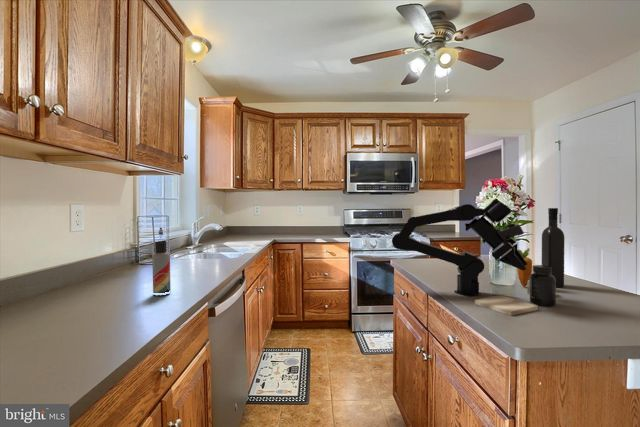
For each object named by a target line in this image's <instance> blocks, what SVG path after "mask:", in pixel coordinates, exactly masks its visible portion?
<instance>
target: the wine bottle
mask: <svg viewBox="0 0 640 427" xmlns="http://www.w3.org/2000/svg"><path fill="white" fill-rule="evenodd" d="M547 210H548V211H547V213H548V226H547V227H546V228H545V229H543V231H542V233H541V265H545V266H550V267H551V268H552V273H551V275H553V276H554V277H555V279H556V288H565V238H566V237H565V233H564V231H563V230H562V229H561V228H560V227H558V219H559V218H558V216H559V208H558V207H549V208H547Z"/></svg>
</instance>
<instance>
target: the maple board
mask: <svg viewBox="0 0 640 427" xmlns="http://www.w3.org/2000/svg"><path fill="white" fill-rule="evenodd" d="M474 304H475V305H478V306H480V307H484V308H487V309H490V310H493V311H496V312H499V313H502V314H504V315H508V316H516V315H521V314H525V313H529V312H533V311H538V310H539V306H538V305H535V304H532V303H531V302H530V303H529V302H527V301H523V300H519V299H516V298H512V297H510V296H509V297H508V296H505V295H502V294H500V295H494V296H488V297H482V298H477V299H474Z"/></svg>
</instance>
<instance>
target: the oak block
mask: <svg viewBox="0 0 640 427" xmlns="http://www.w3.org/2000/svg"><path fill="white" fill-rule="evenodd" d="M526 287H527V288H526V289H527V290H526V292H527V294H529V295H530V288H529V280H528V281H527V286H526Z"/></svg>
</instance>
